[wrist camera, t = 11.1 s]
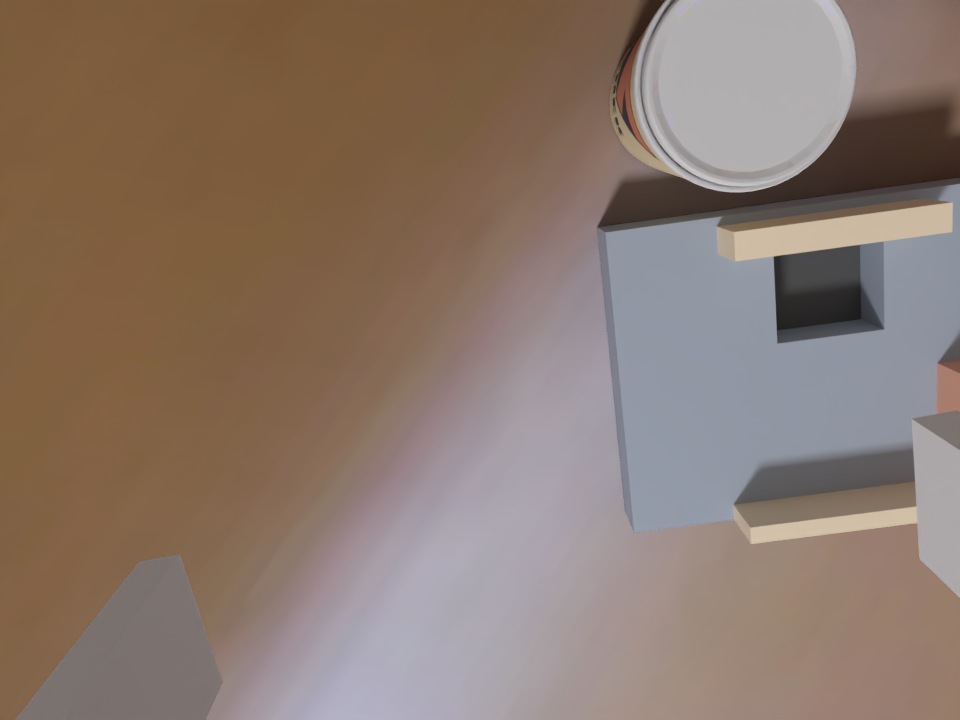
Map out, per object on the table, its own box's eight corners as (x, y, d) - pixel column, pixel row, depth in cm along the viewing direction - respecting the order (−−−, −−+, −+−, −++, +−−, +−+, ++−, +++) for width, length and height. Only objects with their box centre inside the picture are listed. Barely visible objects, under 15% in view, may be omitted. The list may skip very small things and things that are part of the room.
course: (597, 227, 47) (615, 238, 41) (1021, 168, 46) (1100, 172, 40) (625, 510, 51) (644, 557, 45) (1011, 461, 51) (1081, 502, 45)
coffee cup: (619, -10, 43) (674, -74, 32) (783, 33, 44) (897, -15, 32) (574, 164, 46) (612, 164, 34) (732, 202, 46) (822, 215, 35)
